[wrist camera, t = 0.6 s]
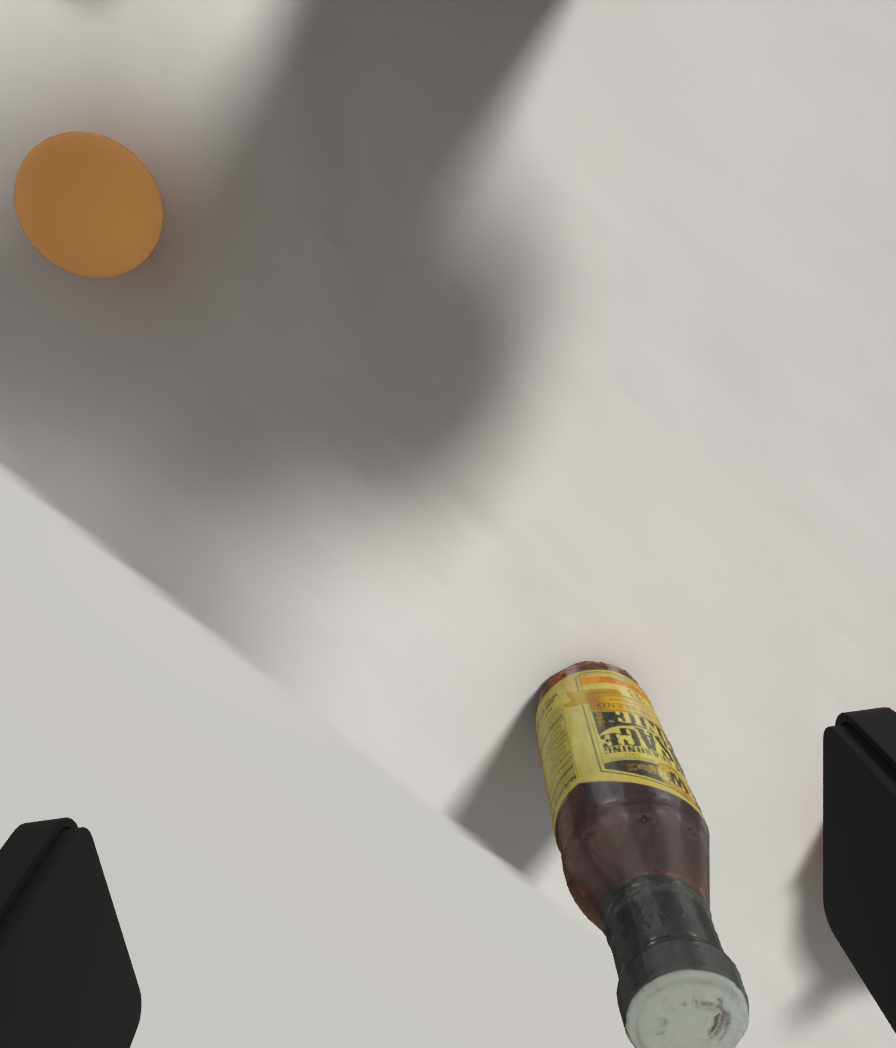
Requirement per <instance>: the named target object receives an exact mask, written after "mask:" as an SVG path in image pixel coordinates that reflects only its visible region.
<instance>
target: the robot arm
mask: <svg viewBox="0 0 896 1048" xmlns="http://www.w3.org/2000/svg"><path fill="white" fill-rule="evenodd" d="M823 901H824V909H825V913H826V917H827V920H828V923H829V925H830V928H831V930H832V932H833V934H834V935H835V937H836V939H837V940H838V942H839V943H840V945H841V947H842V948H843V950H844V951H845V953H846V955H847V956H848V958H849V959H850V961H851V963H852V964H853V966H854V967H855V969H856V971H857V972H858V974H859V975H860V977H861V979H862V980H863V982H864V983H865V985H866V987H867V988H868V990H869V991H870V993H871V995H872V996H873V998H874V999H875V1001H876V1003H877V1004H878V1006H879V1007H880V1009H881V1011H882V1012H883V1014H884V1015H885V1017H886V1019H887V1020H888V1022H889V1023H890V1025H891V1027H892V1028H893V1030H894V1031H895V1033H896V712H894V711H893V710H891V709H890V708H885V707H883V708H875V709H868V710H860V711H853V712H846V713H841V714H840V715H838V717H837V719H836V723H835V726H831V727H827V728H826V729H825V731H824V736H823ZM140 1014H141V994H140V989H139V986H138V983H137V979H136V976H135V973H134V970H133V967H132V964H131V960H130V957H129V954H128V951H127V948H126V944H125V941H124V938H123V935H122V931H121V928H120V925H119V922H118V918H117V915H116V912H115V909H114V905H113V902H112V899H111V896H110V893H109V890H108V886H107V883H106V880H105V877H104V873H103V870H102V867H101V864H100V860H99V857H98V854H97V851H96V848H95V845H94V841H93V838H92V836H91V833H90V831H89V830H88V829H87V828H84V827H81V828H78V826H77V824H76V823H75V822H74V821H73V820H72V819H70V818H59V819H52V820H45V821H38V822H30V823H24V824H21V825H20V826H19V827H17V829H15V830H14V832H13V833H12V834H11V836H10V837H9V839H8V840H7V841H6V843H5V844H4V845H3V847H2V848H1V849H0V1048H130V1045H131V1043H132V1040H133V1038H134V1035H135V1033H136V1030H137V1027H138V1024H139V1020H140Z"/></svg>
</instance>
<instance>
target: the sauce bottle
mask: <svg viewBox="0 0 896 1048" xmlns="http://www.w3.org/2000/svg"><path fill="white" fill-rule="evenodd" d="M536 733H537V738H538V744H539V749H540V755H541V761H542V766H543V772H544V777H545V783H546V788H547V793H548V799H549V804H550V810H551V816H552V821H553V827H554V833H555V838H556V843H557V846H558V848H559V850H560V852H561V858H562V865H563V871H564V875H565V879H566V882H567V886H568V888H569V891H570V893H571V895H572V897H573V898H574V901H575V902H576V904H577V905H578V907H579V908H580V910H581V911H582V912H583V913H584V914H585V915H586V916H587V918H588V919H589V920H590V921H591V922H593V923H594V924H595V925H596V926H597V927H598V928H599V929H600V930H602V931H603V933H604V934H605V936H606V938H607V942H608V944H609V946H610V948H611V950H612V953H613V957H614V961H615V965H616V969H617V973H618V977H619V981H618V987H617V1000H618V1006H619V1010H620V1013H621V1017H622V1020H623V1024H624V1027H625V1031H626V1034H627V1036H628V1038H629V1039H630V1041H631V1043H632V1044H633V1045H634V1047H635V1048H734V1047H735V1046H736V1045H737V1044H738V1042H739V1041H740V1040H741V1038H742V1037H743V1036H744V1033H745V1031H746V1030H747V1027H748V1017H749V1003H748V997H747V994H746V992H745V989H744V986H743V983H742V980H741V977H740V973H739V972H738V970H737V968H736V965H735V964H734V963H733V962H732V961H731V959H730V958H729V957H728V956H727V955H726V954H725V953H724V951H723V949H722V947H721V943H720V941H719V938H718V934H717V933H716V931H715V929H714V925H713V922H712V920H711V917H712V916H711V912H710V887H709V830H708V827H707V824H706V822H705V819H704V817H703V815H702V812H701V809H700V807H699V806H698V804H697V802H696V798H695V797H694V795H693V793H692V791H691V789H690V787H689V785H688V782H687V780H686V778H685V775H684V773H683V770H682V768H681V766H680V764H679V762H678V760H677V758H676V756H675V754H674V751H673V748H672V746H671V744H670V742H669V741H668V739H667V737H666V735H665V732H664V730H663V728H662V726H661V724H660V722H659V719H658V717H657V715H656V713H655V711H654V709H653V707H652V704H651V702H650V700H649V698H648V696H647V695H646V693H645V692H644V691H643V690H642V688H641V687H640V686H639V685H638V683H637V681H635V680H634V679H633V678H632V677H631V676H630V675H629V674H628V673H627V672H626V671H625V670H623V669H620V668H618V667H616V666H613V665H610V664H605V663H602V662H600V663H597V662H589V661H585V662H581V663H576V664H574V665H572V666H571V667H569V668H567V669H565V670H563V671H561V672H559V673H557V674H555V675H554V676H553V677H552V678H551V679H550V680H549V681H548V682H547V684H546V685H545V687H544V689H543V691H542V692H541V695H540V697H539V701H538V706H537V711H536Z"/></svg>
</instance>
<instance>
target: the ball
mask: <svg viewBox="0 0 896 1048" xmlns="http://www.w3.org/2000/svg"><path fill="white" fill-rule="evenodd" d="M14 200H15V207H16V213H17V216H18V219H19V222H20V224H21V227H22V229H23V231H24V232H25V234H26V236H27V238H28V239H29V240H30V242H31V243H32V244H33V246H34V247H35V248H36V249H37V250H38V251H39V252H40V253H41V254H42V255H43V256H44V257H45V258H46V259H48V260H49V261H50V262H52V263H53V264H55V265H56V266H58V267H60V268H62V269H64V270H66V271H68V272H71V273H73V274H76V275H80V276H84V277H92V278H108V277H114V276H118V275H121V274H124V273H127V272H129V271H131V270H133V269H134V268H136V267H137V266H139V265H140V264H141V263H142V262H143V261H144V260H146V259H147V258H148V256H149V255H150V254H151V253H152V251H153V250H154V248H155V246H156V244H157V242H158V240H159V237H160V234H161V230H162V223H163V208H162V201H161V197H160V193H159V190H158V188H157V185H156V183H155V181H154V179H153V177H152V175H151V174H150V172H149V171H148V169H147V168H146V167H145V165H144V164H143V163H142V162H141V161H140V160H139V158H137V157H136V156H135V155H134V154H133V153H132V152H131V151H130V150H128V149H127V148H125V147H124V146H122V145H121V144H119V143H117V142H115V141H114V140H112V139H109V138H107V137H104V136H101V135H97V134H93V133H86V132H69V133H63V134H59V135H56V136H53V137H50V138H48V139H46V140H44V141H43V142H41V143H40V144H39V145H37V146H36V147H35V148H34V149H33V150H32V151H31V152H30V153H29V154H28V155H27V156H26V158H25V159H24V161H23V162H22V164H21V166H20V168H19V171H18V174H17V177H16V182H15V189H14Z"/></svg>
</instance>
